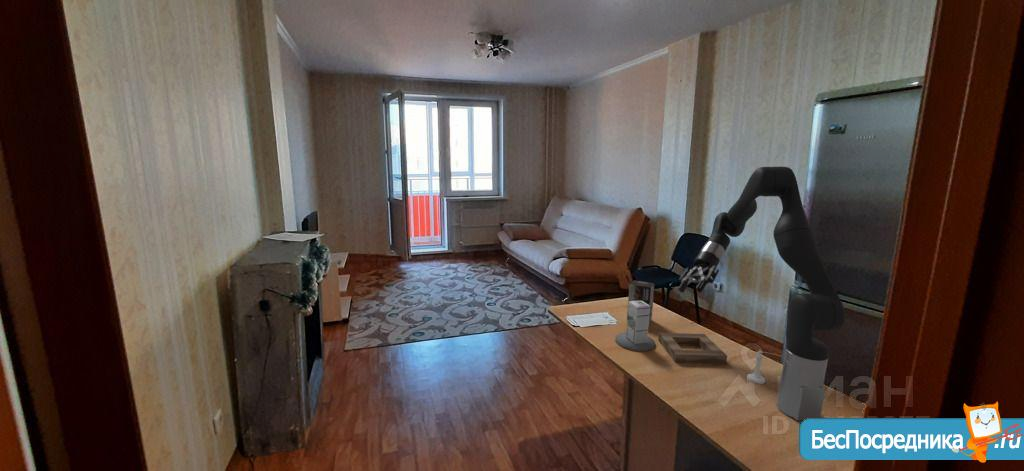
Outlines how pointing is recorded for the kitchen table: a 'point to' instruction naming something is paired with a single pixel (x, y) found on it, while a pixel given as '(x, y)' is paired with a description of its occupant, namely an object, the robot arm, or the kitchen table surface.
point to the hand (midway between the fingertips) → (689, 291)
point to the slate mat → (627, 344)
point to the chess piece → (757, 370)
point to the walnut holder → (706, 355)
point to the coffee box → (642, 294)
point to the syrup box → (638, 322)
